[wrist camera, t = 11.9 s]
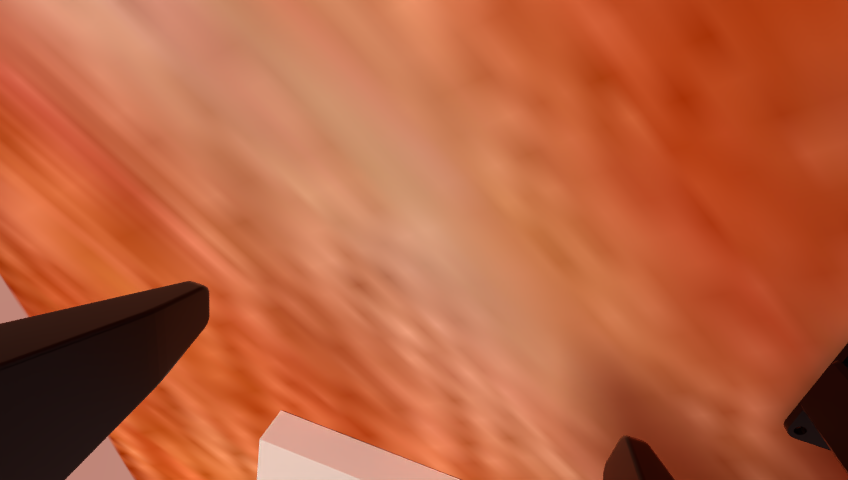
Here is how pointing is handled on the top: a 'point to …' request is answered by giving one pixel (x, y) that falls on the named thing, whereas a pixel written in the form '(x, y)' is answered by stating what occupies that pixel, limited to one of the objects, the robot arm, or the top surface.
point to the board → (329, 456)
